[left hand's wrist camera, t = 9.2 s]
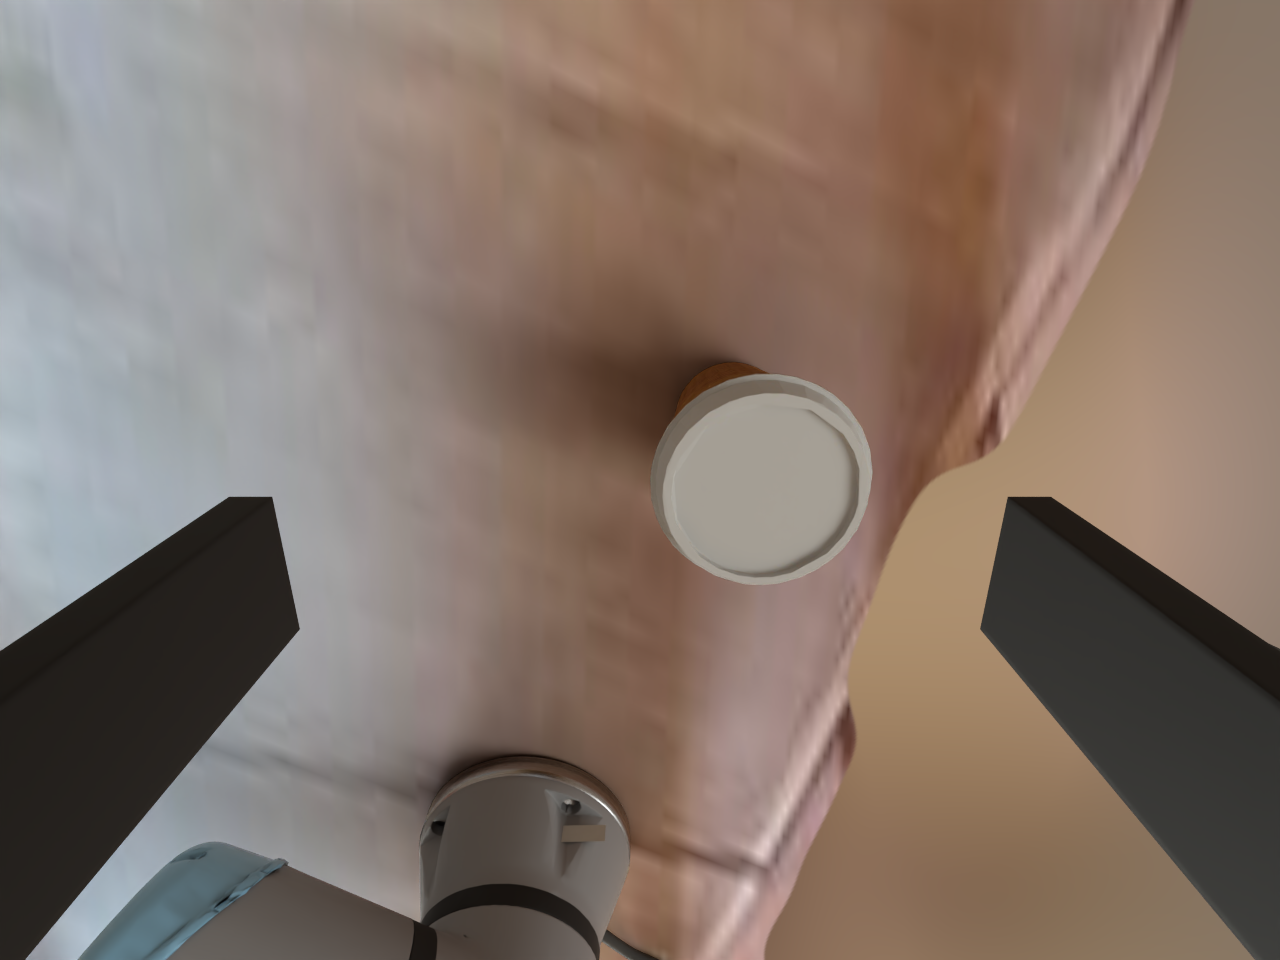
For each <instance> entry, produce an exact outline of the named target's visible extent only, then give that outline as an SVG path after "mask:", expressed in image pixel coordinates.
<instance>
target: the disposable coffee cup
mask: <svg viewBox="0 0 1280 960" xmlns="http://www.w3.org/2000/svg"><path fill="white" fill-rule="evenodd" d="M871 479H872V464H871V455H870V448H869V446H868V443H867V440H866V437H865V434H864V432H863V429H862V427H861V426H860V424H859V423H858V421H857V420H856V418H855V417H854V415H853V414H852V413H851V411H850V410H849V408H848V407H846V406H845V405H844V404H843V403H842V402H841V401H840V400H839V399H838V398H837V397H835V396H834V395H833V394H832V393H830V392H829V391H827V390H826V389H824V388H823V387H821V386H819V385H816V384H814V383H812V382H809V381H806V380H803V379H800V378H798V377H793V376H787V375H781V374H770V373H767V372H765V371H762V370H760V369H758V368H756V367H753V366H751V365H748V364H744V363H738V362H730V363H722V364H717V365H714V366H712V367H709V368H707V369H705V370H703V371H702V372H700V373H699V374H698V375H696V376H695V377H694V378H693V379H692V380H691V381H690V382H689V383H688V385H687V386H686V387H685V389H684V390H683V392H682V393H681V396H680V398H679V401H678V404H677V408H676V412H675V415H674V419H673V420H672V422H671V423H670V424H669V425H668V427H667V428H666V430H665V432H664V434H663V436H662V438H661V440H660V442H659V444H658V446H657V449H656V453H655V456H654V459H653V463H652V468H651V478H650V482H651V500H652V503H653V507H654V510H655V514H656V517H657V520H658V522H659V524H660V526H661V528H662V530H663V532H664V533H665V535H666V536H667V538H668V539H669V540H670V542H671V543H672V545H673V546H674V547H675V548H676V549H677V550H678V551H679V552H680V553H681V554H682V555H683V556H685V557H686V558H687V559H689V560H690V561H691V562H693V563H694V564H695V565H697V566H699V567H701V568H703V569H705V570H706V571H708V572H710V573H711V574H713V575H715V576H718V577H721V578H723V579H726V580H730V581H734V582H738V583H742V584H752V585H767V584H779V583H782V582H786V581H789V580H793V579H796V578H800V577H802V576H804V575H807V574H809V573H811V572H813V571H815V570H817V569H818V568H820V567H821V566H823V565H824V564H826V563H827V562H829V561H830V560H831V559H832V558H833V557H834V556H836V555H837V554H838V553H839V552H840V551H841V550H842V549H843V548H844V547H845V545H846V544H847V543H848V541H849V540H850V539H851V537H852V536H853V535H854V533H855V532H856V531H857V529H858V527H859V524H860V522H861V519H862V517H863V514H864V512H865V509H866V507H867V504H868V497H869V493H870V487H871Z"/></svg>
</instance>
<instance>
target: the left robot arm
mask: <svg viewBox="0 0 1280 960" xmlns="http://www.w3.org/2000/svg"><path fill="white" fill-rule="evenodd" d="M299 629H300V628H299V623H298V618H297V614H296V609H295V604H294V599H293V595H292V590H291V585H290V580H289V575H288V571H287V566H286V561H285V556H284V551H283V547H282V542H281V537H280V532H279V528H278V523H277V518H276V513H275V508H274V504H273V499H272V497H228V498H227V499H225V500H224V501H222V502H221V503H219V504H218V505H216V506H215V507H213V508H212V509H210V510H209V511H207V512H206V513H205V514H203V515H202V516H200V517H199V518H197V519H196V520H194V521H193V522H191V523H190V524H188V525H187V526H185V527H184V528H182V529H181V530H179V531H178V532H176V533H175V534H173V535H172V536H170V537H169V538H167V539H166V540H164V541H163V542H162V543H160V544H159V545H157V546H156V547H154V548H153V549H151V550H150V551H148V552H147V553H145V554H144V555H142V556H141V557H139V558H138V559H136V560H135V561H133V562H132V563H130V564H129V565H127V566H126V567H124V568H123V569H121V570H120V571H119V572H117V573H116V574H114V575H113V576H111V577H110V578H108V579H107V580H105V581H104V582H102V583H101V584H99V585H98V586H96V587H95V588H93V589H92V590H90V591H89V592H87V593H86V594H84V595H83V596H81V597H80V598H78V599H77V600H76V601H74V602H73V603H71V604H70V605H68V606H67V607H65V608H64V609H62V610H61V611H59V612H58V613H56V614H55V615H53V616H52V617H50V618H49V619H47V620H46V621H44V622H43V623H41V624H40V625H38V626H37V627H35V628H34V629H33V630H31V631H30V632H28V633H27V634H25V635H24V636H22V637H21V638H19V639H18V640H16V641H15V642H13V643H12V644H10V645H9V646H7V647H6V648H4V649H3V650H1V651H0V960H25V959H26V958H27V957H28V955H29V954H30V953H31V952H32V951H33V949H34V948H35V947H36V946H37V945H38V943H39V942H40V941H41V940H42V939H43V937H44V936H45V935H46V934H47V933H48V931H49V930H50V929H51V928H52V927H53V925H54V924H55V923H56V922H57V921H58V919H59V918H60V917H61V916H62V915H63V913H64V912H65V911H66V910H67V908H68V907H69V906H70V905H71V904H72V902H73V901H74V900H75V899H76V898H77V896H78V895H79V894H80V893H81V892H82V890H83V889H84V888H85V887H86V886H87V884H88V883H89V882H90V881H91V880H92V878H93V877H94V876H95V875H96V874H97V872H98V871H99V870H100V869H101V868H102V866H103V865H104V864H105V863H106V862H107V860H108V859H109V858H110V857H111V856H112V854H113V853H114V852H115V851H116V850H117V848H118V847H119V846H120V845H121V844H122V842H123V841H124V840H125V839H126V838H127V836H128V835H129V834H130V833H131V832H132V830H133V829H134V828H135V827H136V825H137V824H138V823H139V822H140V821H141V819H142V818H143V817H144V816H145V815H146V813H147V812H148V811H149V810H150V809H151V807H152V806H153V805H154V804H155V803H156V801H157V800H158V799H159V798H160V797H161V795H162V794H163V793H164V792H165V791H166V789H167V788H168V787H169V786H170V785H171V783H172V782H173V781H174V780H175V779H176V777H177V776H178V775H179V774H180V773H181V771H182V770H183V769H184V768H185V767H186V765H187V764H188V763H189V762H190V761H191V759H192V758H193V757H194V756H195V755H196V753H197V752H198V751H199V750H200V749H201V747H202V746H203V745H204V744H205V742H206V741H207V740H208V739H209V738H210V736H211V735H212V734H213V733H214V732H215V730H216V729H217V728H218V727H219V726H220V724H221V723H222V722H223V721H224V720H225V718H226V717H227V716H228V715H229V714H230V712H231V711H232V710H233V709H234V708H235V706H236V705H237V704H238V703H239V702H240V700H241V699H242V698H243V697H244V696H245V694H246V693H247V692H248V691H249V690H250V688H251V687H252V686H253V685H254V684H255V682H256V681H257V680H258V679H259V678H260V676H261V675H262V674H263V673H264V672H265V670H266V669H267V668H268V667H269V666H270V664H271V663H272V662H273V661H274V659H275V658H276V657H277V656H278V655H279V653H280V652H281V651H282V650H283V649H284V647H285V646H286V645H287V644H288V643H289V641H290V640H291V639H292V638H293V637H294V635H295V634H296V633H297V632H298V631H299ZM980 629H981V631H982V632H983V633H984V634H985V635H986V637H987V638H988V639H989V640H990V641H991V643H992V644H993V645H994V646H995V647H996V649H997V650H998V651H999V652H1000V653H1001V655H1002V656H1003V657H1004V658H1005V659H1006V661H1007V662H1008V663H1009V664H1010V665H1011V667H1012V668H1013V669H1014V670H1015V672H1016V673H1017V674H1018V675H1019V676H1020V678H1021V679H1022V680H1023V681H1024V682H1025V684H1026V685H1027V686H1028V687H1029V688H1030V690H1031V691H1032V692H1033V693H1034V694H1035V696H1036V697H1037V698H1038V699H1039V700H1040V702H1041V703H1042V704H1043V705H1044V706H1045V708H1046V709H1047V710H1048V711H1049V712H1050V714H1051V715H1052V716H1053V717H1054V718H1055V720H1056V721H1057V722H1058V723H1059V724H1060V726H1061V727H1062V728H1063V729H1064V730H1065V732H1066V733H1067V734H1068V735H1069V736H1070V738H1071V739H1072V740H1073V741H1074V742H1075V744H1076V745H1077V746H1078V747H1079V748H1080V750H1081V751H1082V752H1083V753H1084V755H1085V756H1086V757H1087V758H1088V759H1089V760H1090V762H1091V763H1092V764H1093V765H1094V767H1095V768H1096V769H1097V770H1098V771H1099V773H1100V774H1101V775H1102V776H1103V777H1104V779H1105V780H1106V781H1107V782H1108V783H1109V785H1110V786H1111V787H1112V788H1113V789H1114V791H1115V792H1116V793H1117V794H1118V795H1119V797H1120V798H1121V799H1122V800H1123V801H1124V803H1125V804H1126V805H1127V806H1128V807H1129V809H1130V810H1131V811H1132V812H1133V813H1134V815H1135V816H1136V817H1137V818H1138V819H1139V821H1140V822H1141V823H1142V824H1143V825H1144V827H1145V828H1146V829H1147V830H1148V831H1149V833H1150V834H1151V835H1152V836H1153V837H1154V839H1155V840H1156V841H1157V842H1158V844H1159V845H1160V846H1161V847H1162V848H1163V850H1164V851H1165V852H1166V853H1167V854H1168V856H1169V857H1170V858H1171V859H1172V860H1173V862H1174V863H1175V864H1176V865H1177V866H1178V868H1179V869H1180V870H1181V871H1182V872H1183V874H1184V875H1185V876H1186V877H1187V878H1188V880H1189V881H1190V882H1191V883H1192V884H1193V886H1194V887H1195V888H1196V889H1197V890H1198V892H1199V893H1200V894H1201V895H1202V896H1203V898H1204V899H1205V900H1206V901H1207V902H1208V904H1209V905H1210V906H1211V907H1212V908H1213V910H1214V911H1215V912H1216V913H1217V914H1218V916H1219V917H1220V918H1221V919H1222V920H1223V922H1224V923H1225V924H1226V925H1227V927H1228V928H1229V929H1230V930H1231V931H1232V933H1233V934H1234V935H1235V936H1236V937H1237V939H1238V940H1239V941H1240V942H1241V943H1242V945H1243V946H1244V947H1245V948H1246V949H1247V951H1248V952H1249V953H1250V954H1251V955H1252V957H1253V958H1254V959H1255V960H1280V649H1279V648H1277V647H1275V646H1273V645H1270V644H1268V643H1267V642H1265V641H1264V640H1262V639H1261V638H1259V637H1258V636H1256V635H1255V634H1253V633H1252V632H1250V631H1249V630H1247V629H1246V628H1245V627H1243V626H1242V625H1240V624H1238V623H1237V622H1236V621H1234V620H1233V619H1231V618H1230V617H1228V616H1227V615H1225V614H1224V613H1222V612H1221V611H1219V610H1218V609H1216V608H1215V607H1213V606H1212V605H1210V604H1209V603H1207V602H1206V601H1204V600H1203V599H1202V598H1200V597H1199V596H1197V595H1196V594H1194V593H1193V592H1191V591H1190V590H1188V589H1187V588H1185V587H1184V586H1182V585H1181V584H1179V583H1178V582H1176V581H1175V580H1173V579H1172V578H1170V577H1169V576H1167V575H1166V574H1164V573H1163V572H1161V571H1160V570H1159V569H1157V568H1155V567H1154V566H1153V565H1151V564H1150V563H1148V562H1147V561H1145V560H1144V559H1142V558H1141V557H1139V556H1138V555H1136V554H1135V553H1133V552H1132V551H1130V550H1129V549H1127V548H1126V547H1124V546H1123V545H1121V544H1120V543H1118V542H1117V541H1115V540H1114V539H1113V538H1111V537H1110V536H1108V535H1107V534H1105V533H1104V532H1102V531H1101V530H1099V529H1098V528H1096V527H1095V526H1093V525H1092V524H1090V523H1089V522H1087V521H1086V520H1084V519H1083V518H1081V517H1080V516H1078V515H1077V514H1075V513H1074V512H1072V511H1071V510H1069V509H1068V508H1067V507H1065V506H1064V505H1062V504H1061V503H1059V502H1058V501H1056V500H1055V499H1053V498H1052V497H1008V499H1007V504H1006V508H1005V513H1004V518H1003V523H1002V528H1001V533H1000V537H999V542H998V547H997V551H996V556H995V561H994V566H993V571H992V575H991V580H990V585H989V590H988V595H987V599H986V604H985V609H984V614H983V618H982V623H981V628H980ZM287 865H288V862H287V861H285V860H284V859H281V858H278V859H275V860H272V859H269V858H266V857H264V856H261V855H258V854H255V853H252V852H249V851H246V850H244V849H241V848H238V847H235V846H232V845H229V844H226V843H222V842H208V843H203V844H200V845H197V846H194V847H192V848H190V849H188V850H186V851H185V852H183V853H181V854H180V855H178V856H177V857H175V858H174V859H173V860H172V861H170V862H169V863H168V864H167V865H166V866H165V867H163V868H162V869H161V870H160V871H159V872H158V873H157V874H156V875H155V876H154V877H153V878H152V879H151V880H150V881H149V882H148V883H147V884H146V885H145V886H144V887H143V888H142V889H141V890H140V891H139V892H138V893H137V894H136V895H135V896H134V897H133V898H132V899H131V900H130V901H129V903H128V904H127V905H126V906H125V907H124V908H123V909H122V910H121V911H120V912H119V913H118V914H117V916H116V917H115V918H114V919H113V920H112V921H111V922H110V923H109V924H108V925H107V927H106V928H105V929H104V930H103V931H102V932H101V933H100V934H99V936H98V937H97V938H96V939H95V940H94V941H93V942H92V944H91V945H90V946H89V947H88V948H87V949H86V950H85V952H84V953H83V954H82V955H81V956H80V957H79V959H78V960H599V955H600V945H601V942H603V943H605V944H606V945H607V946H609V947H610V948H612V949H613V950H615V951H616V952H618V953H619V954H621V955H622V956H624V957H625V958H627V959H629V960H658V959H656V958H654V957H652V956H650V955H647V954H645V953H643V952H640V951H638V950H636V949H634V948H633V947H631V946H629V945H628V944H626V943H625V942H623V941H622V940H620V939H619V938H618V937H616V936H615V935H613V934H612V933H611V932H609V931H608V930H606V929H607V926H608V924H609V921H610V918H611V916H612V913H613V911H614V908H615V906H616V903H617V900H618V898H619V895H620V893H621V890H622V887H623V885H624V882H625V879H626V877H627V874H628V871H629V865H630V827H629V823H628V819H627V816H626V813H625V811H624V809H623V807H622V806H621V804H620V802H619V801H618V799H617V798H616V797H615V796H614V794H613V793H612V792H611V791H610V790H609V789H608V788H607V787H606V786H605V785H604V784H602V783H601V782H600V781H599V780H597V779H596V778H594V777H593V776H591V775H590V774H588V773H586V772H584V771H583V770H581V769H578V768H576V767H574V766H572V765H569V764H566V763H563V762H559V761H556V760H552V759H546V758H540V757H528V756H517V757H505V758H498V759H494V760H489V761H486V762H483V763H480V764H477V765H475V766H472V767H470V768H468V769H466V770H464V771H462V772H461V773H459V774H458V775H456V776H455V777H454V778H452V779H451V780H450V781H449V782H448V783H447V784H446V785H445V786H443V787H442V789H441V790H440V791H439V792H438V794H437V795H436V797H435V799H434V800H433V802H432V804H431V807H430V809H429V812H428V815H427V817H426V820H425V823H424V826H423V829H422V832H421V836H420V842H419V865H420V923H419V922H417V921H414V920H412V919H411V918H408V917H406V916H404V915H401V914H399V913H397V912H394V911H392V910H390V909H387V908H385V907H383V906H380V905H378V904H376V903H373V902H371V901H368V900H366V899H364V898H361V897H359V896H357V895H354V894H352V893H350V892H347V891H345V890H343V889H340V888H338V887H336V886H333V885H331V884H328V883H326V882H324V881H321V880H319V879H317V878H314V877H312V876H310V875H307V874H305V873H303V872H300V871H298V870H296V869H294V868H291V867H289V866H287Z"/></svg>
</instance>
